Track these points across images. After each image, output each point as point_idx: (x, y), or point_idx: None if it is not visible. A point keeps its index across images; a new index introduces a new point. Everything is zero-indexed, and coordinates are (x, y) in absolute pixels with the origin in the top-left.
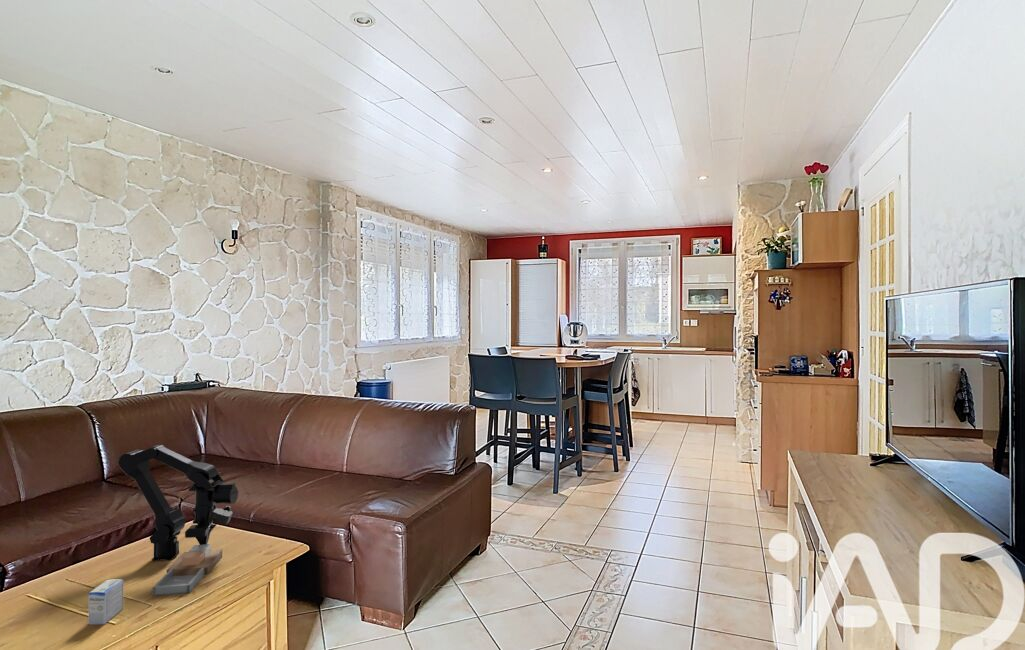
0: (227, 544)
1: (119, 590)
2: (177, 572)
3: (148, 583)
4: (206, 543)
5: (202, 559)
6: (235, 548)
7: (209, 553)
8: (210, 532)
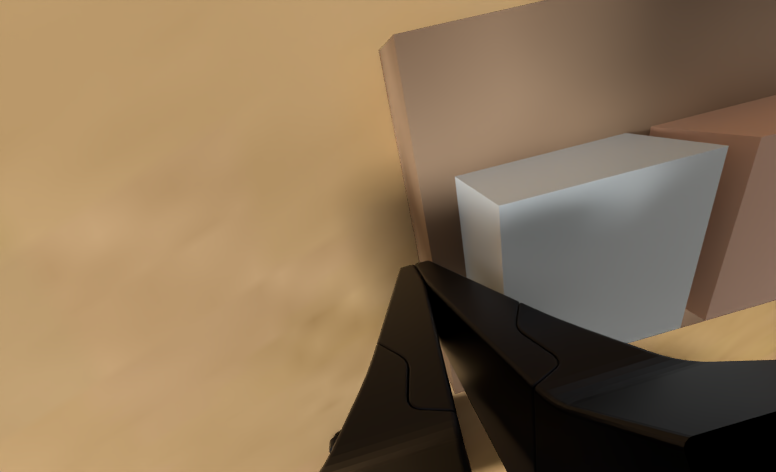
0: (23, 201)
1: None
2: None
3: (750, 310)
4: (453, 283)
5: (709, 115)
6: (85, 14)
7: (513, 150)
8: (358, 423)
